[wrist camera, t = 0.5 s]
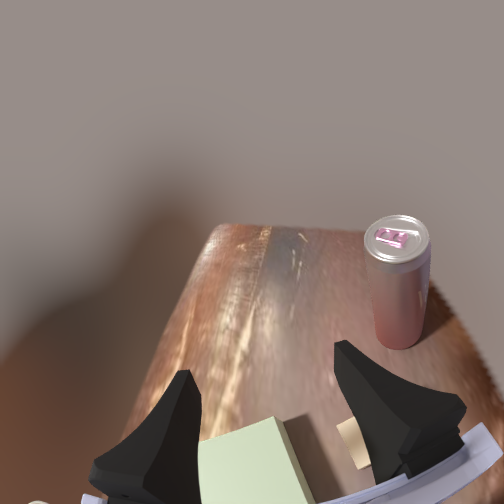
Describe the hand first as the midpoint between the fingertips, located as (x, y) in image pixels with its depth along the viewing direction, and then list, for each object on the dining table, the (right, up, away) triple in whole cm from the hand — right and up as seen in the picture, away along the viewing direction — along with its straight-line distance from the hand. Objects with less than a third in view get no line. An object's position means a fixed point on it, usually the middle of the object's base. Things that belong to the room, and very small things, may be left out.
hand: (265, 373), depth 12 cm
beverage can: (+17, -4, +16) cm, 23 cm away
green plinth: (-1, -20, +8) cm, 22 cm away
